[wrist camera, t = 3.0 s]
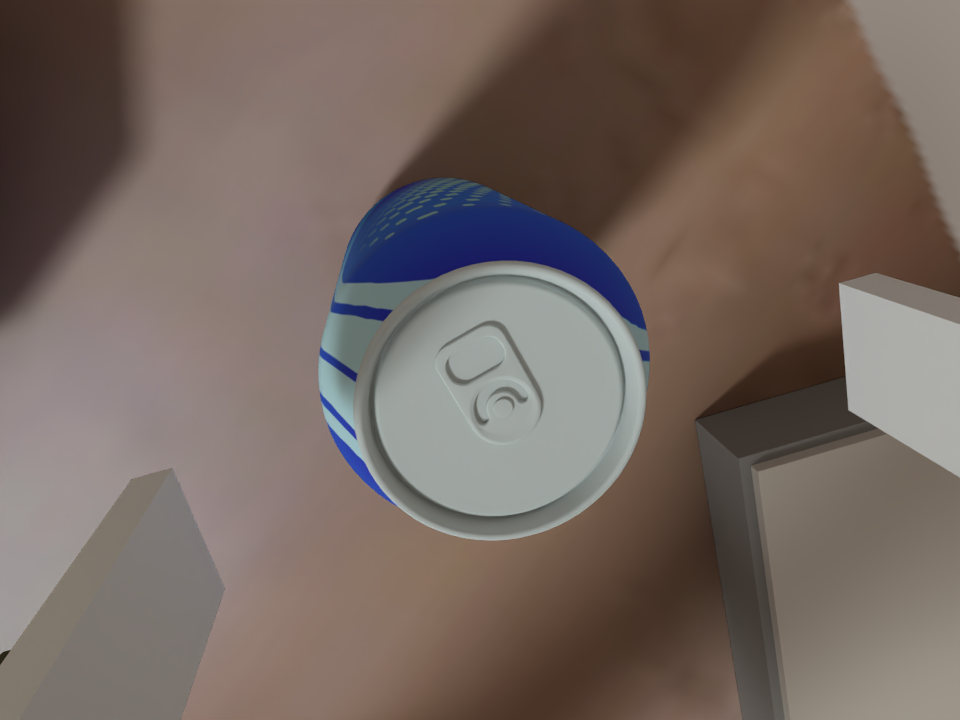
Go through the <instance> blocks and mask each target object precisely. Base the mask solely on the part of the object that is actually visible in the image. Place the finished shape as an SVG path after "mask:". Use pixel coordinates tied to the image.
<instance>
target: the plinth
mask: <svg viewBox="0 0 960 720" xmlns="http://www.w3.org/2000/svg"><path fill="white" fill-rule="evenodd" d="M695 423H696V429H697V435H698V442H699V448H700V454H701V461H702V467H703V473H704V479H705V486H706V492H707V498H708V505H709V511H710V517H711V523H712V530H713V536H714V542H715V549H716V555H717V561H718V567H719V574H720V580H721V586H722V593H723V599H724V605H725V612H726V618H727V624H728V630H729V637H730V643H731V649H732V656H733V662H734V668H735V674H736V681H737V687H738V693H739V700H740V706H741V712H742V718H743V720H960V477H958V476H956V475H955V474H953V473H951V472H950V471H948V470H946V469H945V468H943V467H942V466H940V465H938V464H937V463H935V462H933V461H932V460H930V459H928V458H927V457H925V456H923V455H922V454H920V453H918V452H917V451H915V450H913V449H912V448H910V447H909V446H907V445H905V444H904V443H902V442H900V441H899V440H897V439H895V438H894V437H892V436H890V435H889V434H887V433H885V432H884V431H882V430H880V429H879V428H877V427H875V426H874V425H872V424H871V423H869V422H867V421H866V420H864V419H862V418H861V417H859V416H857V415H856V414H854V413H852V412H851V411H849V410H848V398H847V385H846V377H843V378H839V379H836V380H832V381H829V382H825V383H822V384H818V385H815V386H811V387H808V388H804V389H801V390H797V391H794V392H790V393H787V394H783V395H780V396H777V397H773V398H770V399H766V400H763V401H759V402H756V403H752V404H749V405H745V406H742V407H738V408H735V409H731V410H728V411H724V412H721V413H717V414H714V415H710V416H707V417H704V418H700V419H697V420H695Z"/></svg>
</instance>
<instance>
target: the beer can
mask: <svg viewBox="0 0 960 720" xmlns="http://www.w3.org/2000/svg"><path fill="white" fill-rule="evenodd" d="M649 363H650V354H649V342H648V335H647V330H646V325H645V321H644V318H643V314H642V311H641V308H640V306H639V303H638V301H637V298H636V296H635V294H634V292H633V290H632V288H631V286H630V285H629V283H628V281H627V280H626V278H625V277H624V275H623V274H622V272H621V271H620V269H619V268H618V267H617V266H616V265H615V263H614V262H613V261H612V260H611V259H610V258H609V256H608V255H607V254H606V253H605V252H604V251H603V250H601V249H600V248H599V247H598V246H597V245H596V244H595V243H594V242H593V241H591V240H590V239H589V238H587V237H586V236H585V235H583V234H582V233H580V232H579V231H577V230H575V229H574V228H572V227H570V226H569V225H567V224H565V223H563V222H560V221H558V220H556V219H554V218H552V217H550V216H548V215H546V214H543V213H541V212H539V211H537V210H535V209H533V208H531V207H529V206H526V205H524V204H522V203H520V202H518V201H516V200H514V199H512V198H509V197H507V196H505V195H503V194H501V193H499V192H497V191H494V190H492V189H490V188H488V187H486V186H484V185H481V184H478V183H475V182H472V181H468V180H464V179H457V178H432V179H426V180H421V181H417V182H414V183H411V184H408V185H406V186H403V187H401V188H399V189H397V190H395V191H393V192H391V193H390V194H388V195H387V196H385V197H384V198H383V199H381V200H380V201H379V202H378V203H376V204H375V205H374V206H373V207H372V208H371V209H370V210H369V211H368V212H367V214H366V215H365V216H364V217H363V218H362V220H361V221H360V223H359V224H358V226H357V227H356V229H355V231H354V233H353V235H352V237H351V239H350V241H349V244H348V246H347V250H346V253H345V256H344V260H343V264H342V267H341V271H340V275H339V278H338V282H337V285H336V289H335V293H334V296H333V300H332V304H331V307H330V311H329V314H328V318H327V322H326V325H325V329H324V333H323V336H322V342H321V347H320V354H319V367H318V370H319V388H320V396H321V403H322V407H323V411H324V415H325V419H326V421H327V424H328V427H329V430H330V432H331V434H332V437H333V439H334V441H335V443H336V445H337V447H338V448H339V450H340V452H341V453H342V455H343V456H344V458H345V460H346V461H347V462H348V463H349V465H350V466H351V467H352V469H353V470H354V471H355V472H356V473H357V474H358V475H359V476H360V477H361V479H362V480H363V481H364V482H365V483H366V484H368V485H369V486H370V487H371V488H372V489H373V490H375V491H376V492H377V493H378V494H379V495H381V496H382V497H384V498H385V499H386V500H388V501H389V502H391V503H393V504H394V505H396V506H398V507H399V508H401V509H402V510H403V511H404V512H406V513H407V514H408V515H410V516H411V517H413V518H414V519H416V520H418V521H419V522H421V523H423V524H425V525H427V526H429V527H431V528H433V529H436V530H438V531H441V532H444V533H447V534H450V535H453V536H458V537H462V538H468V539H475V540H507V539H515V538H521V537H526V536H530V535H534V534H537V533H540V532H543V531H546V530H549V529H551V528H553V527H556V526H558V525H560V524H562V523H564V522H566V521H568V520H570V519H571V518H573V517H575V516H576V515H578V514H579V513H581V512H582V511H584V510H585V509H586V508H588V507H589V506H590V505H592V504H593V503H594V502H595V501H596V500H597V499H598V498H600V497H601V496H602V495H603V494H604V493H605V492H606V490H607V489H608V488H609V487H610V486H611V485H612V484H613V483H614V481H615V480H616V479H617V477H618V476H619V475H620V473H621V472H622V470H623V469H624V467H625V466H626V464H627V462H628V460H629V459H630V457H631V455H632V453H633V451H634V448H635V446H636V444H637V441H638V438H639V435H640V432H641V429H642V425H643V420H644V415H645V407H646V392H647V387H648V379H649Z"/></svg>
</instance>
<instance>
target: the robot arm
mask: <svg viewBox="0 0 960 720" xmlns="http://www.w3.org/2000/svg"><path fill="white" fill-rule="evenodd" d="M839 292H840V305H841V319H842V332H843V345H844V358H845V372H846V385H847V398H848V410H849V411H851V412H852V413H854V414H856V415H857V416H859V417H861V418H862V419H864V420H866V421H867V422H869V423H871V424H872V425H874V426H875V427H877V428H879V429H880V430H882V431H884V432H885V433H887V434H889V435H890V436H892V437H894V438H895V439H897V440H899V441H900V442H902V443H904V444H905V445H907V446H909V447H910V448H912V449H913V450H915V451H917V452H918V453H920V454H922V455H923V456H925V457H927V458H928V459H930V460H932V461H933V462H935V463H937V464H938V465H940V466H942V467H943V468H945V469H946V470H948V471H950V472H951V473H953V474H955V475H956V476H958V477H960V298H959V297H956V296H953V295H949V294H946V293H942V292H939V291H936V290H932V289H929V288H925V287H922V286H919V285H915V284H912V283H908V282H905V281H902V280H898V279H895V278H892V277H888V276H885V275H881V274H878V273H874V274H870V275H866V276H863V277H859V278H856V279H852V280H848V281H845V282H841V283H839ZM224 590H225V587H224V585H223V583H222V581H221V578H220V576H219V574H218V571H217V569H216V567H215V565H214V562H213V560H212V558H211V555H210V553H209V551H208V548H207V546H206V544H205V542H204V539H203V537H202V535H201V532H200V530H199V528H198V526H197V523H196V521H195V519H194V516H193V514H192V512H191V510H190V507H189V505H188V503H187V500H186V498H185V496H184V493H183V491H182V489H181V487H180V484H179V482H178V480H177V477H176V475H175V473H174V471H173V468H171V469H167V470H163V471H160V472H156V473H153V474H149V475H145V476H142V477H138V478H134V479H131V481H130V482H129V484H128V485H127V487H126V488H125V489H124V491H123V492H122V494H121V495H120V496H119V498H118V499H117V501H116V502H115V503H114V505H113V506H112V508H111V509H110V511H109V512H108V513H107V515H106V516H105V518H104V519H103V520H102V522H101V523H100V525H99V526H98V528H97V529H96V530H95V532H94V533H93V535H92V536H91V537H90V539H89V540H88V542H87V543H86V545H85V546H84V547H83V549H82V550H81V552H80V553H79V554H78V556H77V557H76V559H75V560H74V561H73V563H72V564H71V566H70V567H69V569H68V570H67V571H66V573H65V574H64V576H63V577H62V578H61V580H60V581H59V583H58V584H57V586H56V587H55V588H54V590H53V591H52V593H51V594H50V595H49V597H48V598H47V600H46V601H45V603H44V604H43V605H42V607H41V608H40V610H39V611H38V612H37V614H36V615H35V617H34V618H33V619H32V621H31V622H30V624H29V625H28V627H27V628H26V629H25V631H24V632H23V634H22V635H21V636H20V638H19V639H18V641H17V642H16V644H15V645H14V646H13V648H12V649H11V650H9V651H5V652H3V653H2V654H1V655H0V720H181V718H182V715H183V712H184V709H185V706H186V703H187V700H188V697H189V694H190V691H191V688H192V685H193V682H194V679H195V676H196V673H197V670H198V667H199V664H200V661H201V658H202V655H203V652H204V649H205V646H206V643H207V640H208V637H209V635H210V632H211V629H212V626H213V623H214V620H215V617H216V614H217V611H218V608H219V605H220V602H221V599H222V596H223V593H224Z"/></svg>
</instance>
